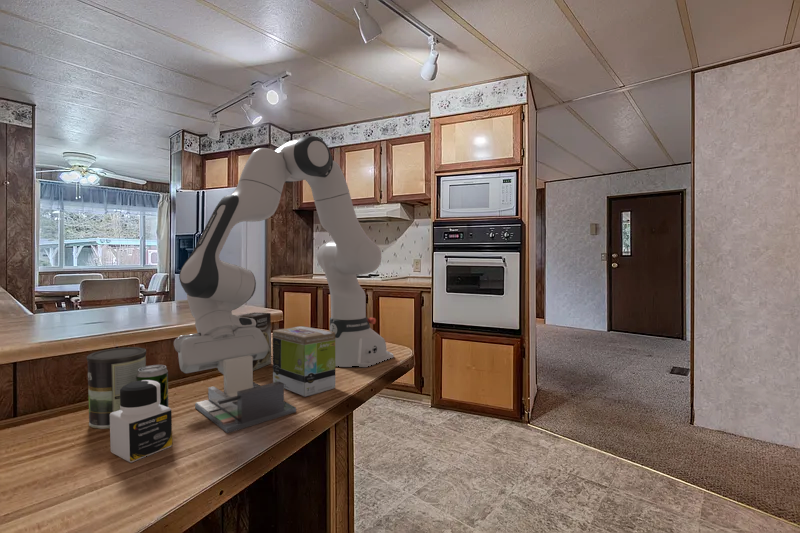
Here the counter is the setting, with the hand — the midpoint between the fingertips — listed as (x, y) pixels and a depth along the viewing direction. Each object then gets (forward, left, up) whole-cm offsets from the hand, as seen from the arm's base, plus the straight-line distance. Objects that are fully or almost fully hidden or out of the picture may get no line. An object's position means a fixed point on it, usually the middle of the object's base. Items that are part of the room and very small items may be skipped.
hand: (235, 378), depth 95 cm
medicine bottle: (+21, +10, -6) cm, 24 cm away
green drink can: (+17, +1, -6) cm, 18 cm away
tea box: (-18, 0, -6) cm, 19 cm away
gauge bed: (0, +5, -6) cm, 8 cm away
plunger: (+2, +6, -5) cm, 8 cm away
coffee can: (+21, -9, -6) cm, 24 cm away
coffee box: (-17, -27, -6) cm, 32 cm away
